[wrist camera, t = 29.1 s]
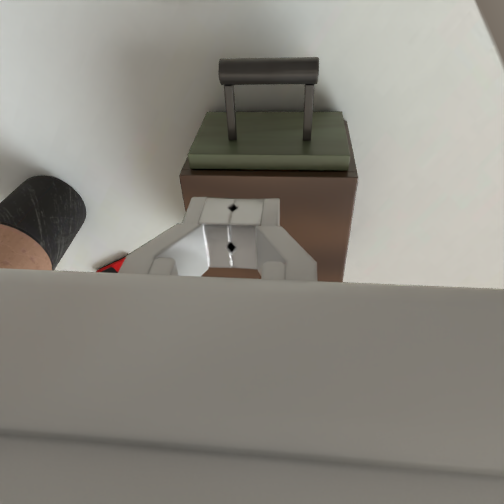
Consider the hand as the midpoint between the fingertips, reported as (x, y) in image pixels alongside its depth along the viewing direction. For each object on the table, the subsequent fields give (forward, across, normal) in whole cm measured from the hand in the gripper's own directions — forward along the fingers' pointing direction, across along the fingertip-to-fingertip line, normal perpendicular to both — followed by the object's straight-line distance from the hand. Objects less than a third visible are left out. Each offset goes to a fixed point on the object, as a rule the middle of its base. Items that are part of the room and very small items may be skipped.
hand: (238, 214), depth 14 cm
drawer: (+22, 0, +9) cm, 24 cm away
